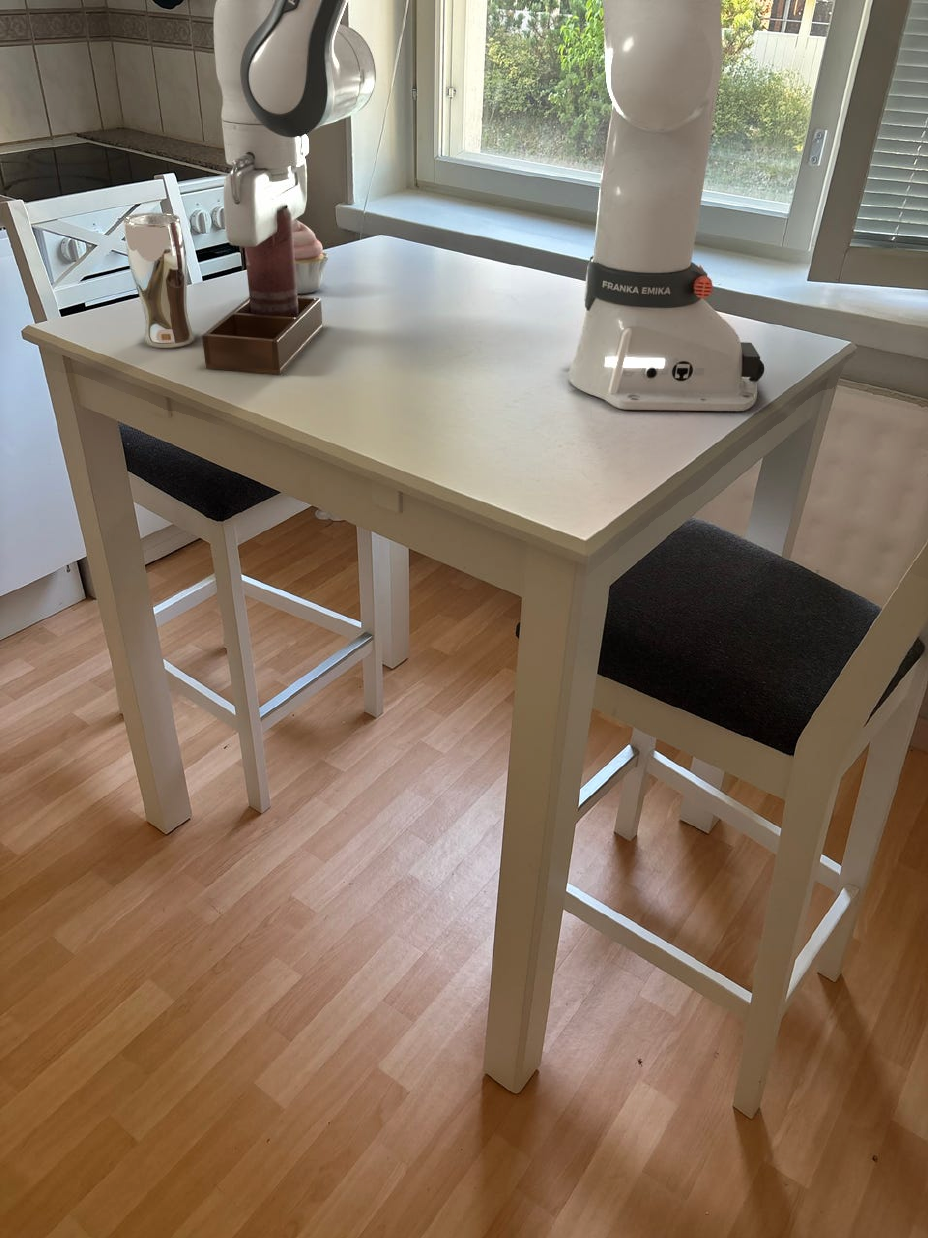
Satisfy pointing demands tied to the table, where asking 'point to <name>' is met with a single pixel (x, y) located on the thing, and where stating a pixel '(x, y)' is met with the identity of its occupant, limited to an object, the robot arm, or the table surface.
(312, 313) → the tray
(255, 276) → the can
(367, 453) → the table surface
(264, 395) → the table surface
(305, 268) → the cupcake
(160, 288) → the beer glass
